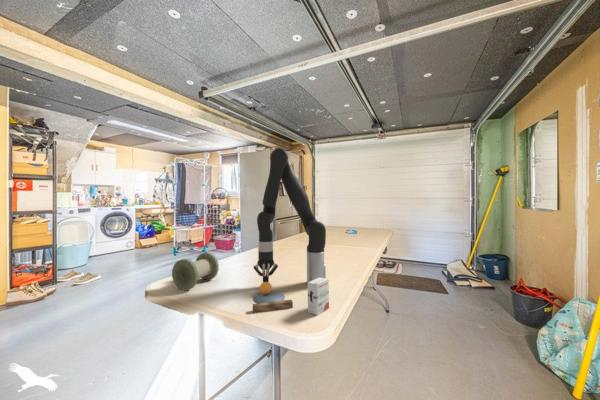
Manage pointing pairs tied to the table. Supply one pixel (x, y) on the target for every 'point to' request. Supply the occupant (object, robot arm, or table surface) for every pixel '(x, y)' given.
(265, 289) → the ball
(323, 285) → the ink box
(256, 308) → the brown square bar
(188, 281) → the spool
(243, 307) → the table surface
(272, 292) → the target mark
